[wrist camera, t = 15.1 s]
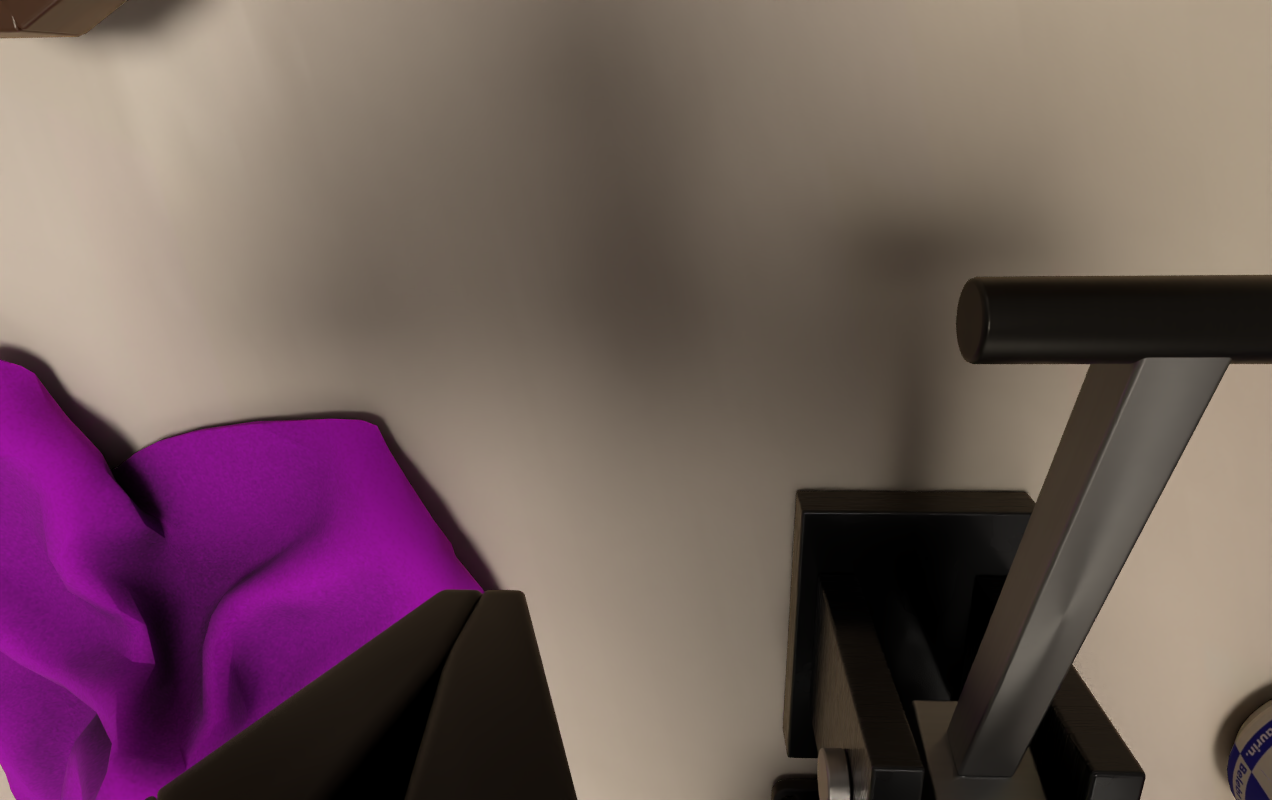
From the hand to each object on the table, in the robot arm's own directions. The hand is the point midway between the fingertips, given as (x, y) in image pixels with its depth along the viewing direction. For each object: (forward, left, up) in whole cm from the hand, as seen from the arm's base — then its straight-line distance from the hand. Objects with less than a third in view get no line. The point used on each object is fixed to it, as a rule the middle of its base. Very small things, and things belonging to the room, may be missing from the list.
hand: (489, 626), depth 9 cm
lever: (-3, -8, -6) cm, 11 cm away
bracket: (-9, -8, -13) cm, 18 cm away
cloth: (-12, +12, -13) cm, 21 cm away
